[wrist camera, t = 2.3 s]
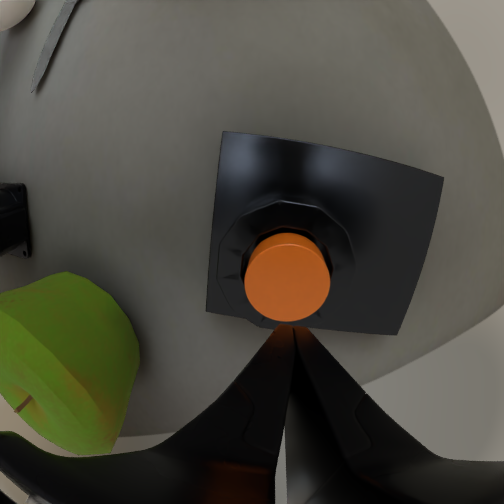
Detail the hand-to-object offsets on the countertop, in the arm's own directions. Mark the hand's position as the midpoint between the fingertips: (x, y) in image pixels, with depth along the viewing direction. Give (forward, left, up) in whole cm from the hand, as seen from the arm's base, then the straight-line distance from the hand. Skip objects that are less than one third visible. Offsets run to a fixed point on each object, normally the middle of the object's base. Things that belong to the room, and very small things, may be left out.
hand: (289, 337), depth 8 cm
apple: (-14, -9, -9) cm, 19 cm away
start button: (0, 0, -5) cm, 5 cm away
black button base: (+2, +1, -9) cm, 9 cm away
